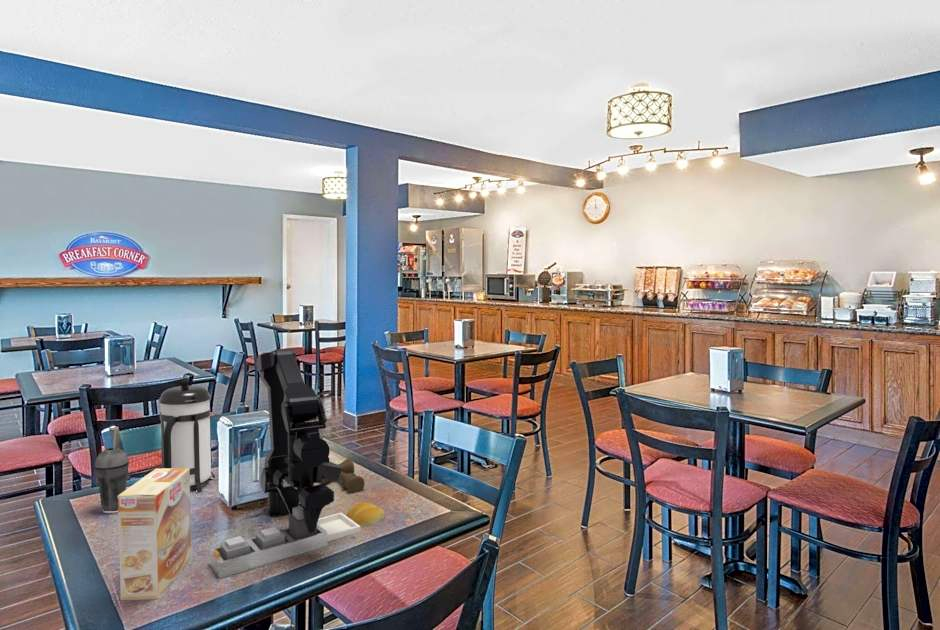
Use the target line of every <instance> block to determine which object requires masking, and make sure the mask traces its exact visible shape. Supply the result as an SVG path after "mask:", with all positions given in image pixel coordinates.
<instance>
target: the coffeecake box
mask: <svg viewBox="0 0 940 630" xmlns="http://www.w3.org/2000/svg"><path fill="white" fill-rule="evenodd" d="M117 497H118V513H117V514H118V516H117V517H118V520H117V521H118V522H117V523H118V552H119V554H118V555H119V559H118V560H119V583H120V584H119V587H120V589H119V590H120V596H119V597H120V599H119V600H120V601H137V600H158V599H160V598H161V597H162V596H163V595H164V594H165V593H166V592H167V590H168V589H169V588H170V587H171V586H172V584H173V583H174V582H175V581H176V579H177V578H178V577H179V576H180V574H181V573H182V571H184V569H185V568H186V567H187V565H188V564H189V563H190V561H191V560H192V541H191V539H192V535H191V530H192V527H191V486H190V468H162V467H161V468H157V467H156V468H155V469H153V470H152V471H150V472H149V473H148V474H146V475H145V476H144V477H142V478H141V479H139V480H137V481H136V482H135V483H134V484H132V485H131V486H129V487H128V488H126V490H125V491H124V492H122V493H121V494H119V495H118V496H117Z"/></svg>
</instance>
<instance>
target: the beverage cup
mask: <svg viewBox="0 0 940 630" xmlns="http://www.w3.org/2000/svg"><path fill="white" fill-rule="evenodd" d="M117 432H118V431H117V429H116V428H115V429H114V432H113V443H112V444H113V445H112V447H108V448H105V449H104V450H102V451H101V452H100V453H99V454H98V455H97V456H96V459H95V463H94V467H93V468H94V469H95V474H96V477H97V484H98V489H99V490H98V491H99V497H100V506H101V509H103V510H104V511H117V510H118V497H117V496H118V495H119V494H121V493H122V492H124V491H125V490H127V478H128V470H129V464H130V461H129V457H128V455H127V453H126V452H125V451H124V450H123V449H121V448H119V447H116V445H117ZM103 510H102V511H103Z"/></svg>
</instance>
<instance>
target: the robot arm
mask: <svg viewBox="0 0 940 630" xmlns="http://www.w3.org/2000/svg"><path fill="white" fill-rule="evenodd" d="M296 355H297V353H296V351H295V349H292V348H280V349H274V350H271V351H269V352H268V351H267V352H262V353H261V354H260V355H259V356H258V357H257V358H256V369H257V372H259V379H260V380H261V381H262V383H263V384H264V386H265V388H266V389H267V400H268V401H267V402H268V418H269V419H268V420H269V422H268V423H269V437H270V438H269V439H270V449H269V451H268V453H267V455H266V457H265V458H264V467H263V468H262V471H261V474H260V478H259V481H260V484H259V485H260V488H261V490H262V492H263V493H264V494H267V503H268V504H267V506H268V507H265V508H262V509H263V511H264V512H265V513H266V514H268V516H270V517H271V518H275V517H276V518H277V517H282V516H285V515H291V514H293V508H294V507H298V506H299V507H300V510H301V513H302V515H303V518H304V521H305V524H306V526H307V529H308V531H309V533H313V532H315V529H316V526H317V522H318V519H319V518H320V516H321V514H322V510H323V509H324V508H325V507H326V506H328V505H330V504H331V503H333V502H334V501H335V491H333V489H331V487H328V486H327V485H326V484H321V483H320V482H322V479H325V480H328V481H333V482H335V483H339V481H340V475H341V472H342V469H343V468H342V467H341V466H339V465H338V463H335V462H332V461H330V457H329V455H330V452H331V451H330V446H329V444H328V442H327V441H326V440H324V438H322V437H321V433H320V431H319V430H323V429H326V428H327V425H326V424H327V421H328V419H327V415H326V411H325V408H324V405H323V403H322V400H321V398H320V397H318V394H317V393H316V392H315V389H314V388H312V387H310V386H308V385H306V383H305V381H304V378H303V376H302V373H301V371H300V368H299V365H298V362H297V356H296ZM317 419H318V420H317ZM315 484H317V485H315Z"/></svg>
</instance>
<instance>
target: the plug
mask: <svg viewBox="0 0 940 630" xmlns="http://www.w3.org/2000/svg"><path fill="white" fill-rule="evenodd" d="M288 528H289V535H290V536H291V537H292V538H293V539H294V540H298V539H301V538H305V537H308V536H312V535H315V534H317V526H316V529H315V532H313V533H309V531H308V529H307V526H306V524H305V521H304V518H303V515H302V513H301V510H300V507H299V506H298V507H294V508H293V514H291V515H290V514H288Z"/></svg>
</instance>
